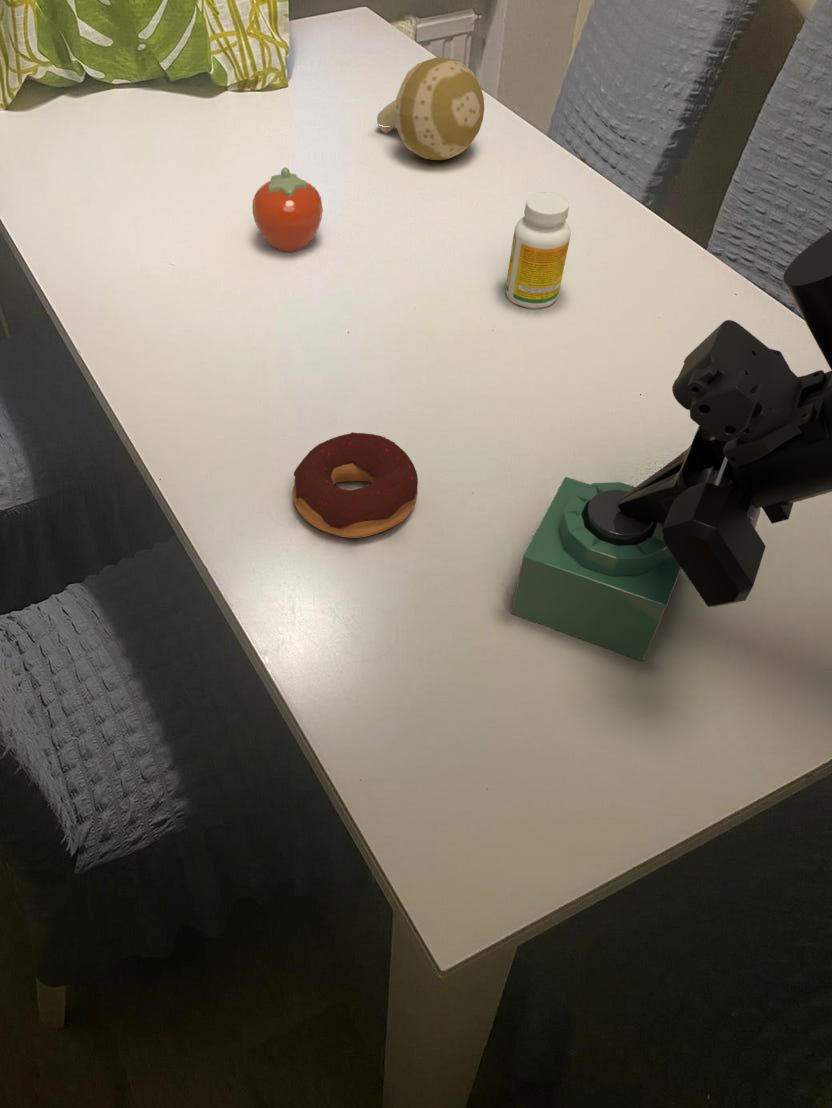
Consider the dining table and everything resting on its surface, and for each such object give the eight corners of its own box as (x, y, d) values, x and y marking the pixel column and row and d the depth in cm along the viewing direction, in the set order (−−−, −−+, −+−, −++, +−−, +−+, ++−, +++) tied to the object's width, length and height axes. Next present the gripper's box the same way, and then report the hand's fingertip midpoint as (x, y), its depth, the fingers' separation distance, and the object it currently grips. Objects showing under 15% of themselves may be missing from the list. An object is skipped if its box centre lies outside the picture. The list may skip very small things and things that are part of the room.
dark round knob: (655, 519, 65) (661, 501, 64) (637, 561, 62) (644, 543, 61) (594, 499, 66) (599, 481, 65) (574, 539, 64) (579, 521, 62)
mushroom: (409, 85, 117) (491, 37, 105) (429, 175, 121) (511, 138, 109) (344, 94, 112) (423, 44, 100) (367, 187, 116) (446, 150, 103)
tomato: (336, 248, 100) (335, 173, 93) (276, 268, 97) (270, 192, 91) (301, 218, 104) (298, 144, 97) (242, 237, 101) (235, 162, 95)
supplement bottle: (495, 288, 95) (507, 195, 87) (539, 275, 96) (555, 183, 89) (523, 315, 92) (539, 221, 84) (568, 302, 94) (588, 208, 86)
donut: (290, 545, 73) (288, 509, 70) (295, 461, 79) (292, 424, 76) (419, 545, 73) (422, 508, 70) (413, 461, 79) (416, 423, 76)
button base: (675, 577, 71) (707, 500, 65) (643, 662, 66) (674, 588, 60) (551, 534, 74) (569, 457, 67) (510, 613, 69) (526, 537, 62)
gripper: (831, 224, 53) (601, 337, 65) (764, 411, 43) (505, 505, 55) (908, 378, 57) (679, 459, 69) (864, 582, 47) (604, 636, 59)
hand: (622, 507), depth 63 cm, fingers closed, pressing on dark round knob
